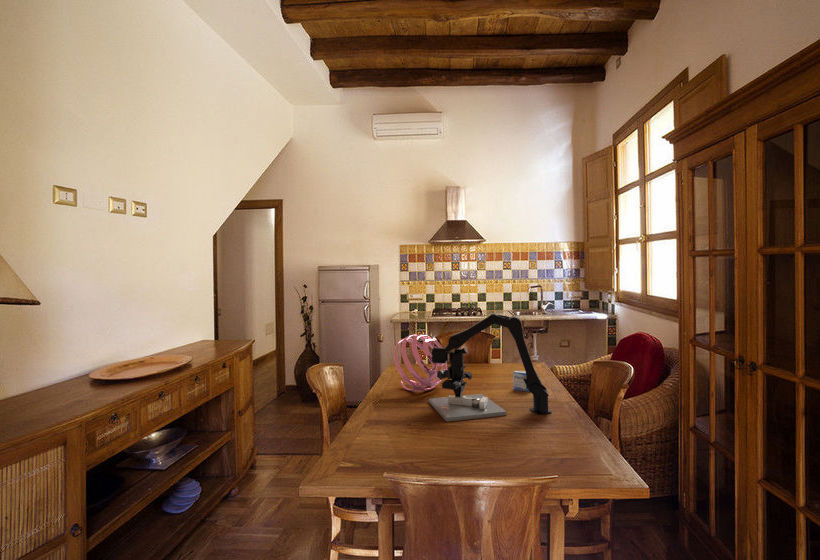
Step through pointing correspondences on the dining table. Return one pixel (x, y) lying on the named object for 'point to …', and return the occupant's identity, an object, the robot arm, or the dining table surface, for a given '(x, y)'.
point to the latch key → (468, 401)
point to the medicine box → (519, 381)
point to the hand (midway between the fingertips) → (458, 399)
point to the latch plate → (465, 409)
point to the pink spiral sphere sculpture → (419, 362)
